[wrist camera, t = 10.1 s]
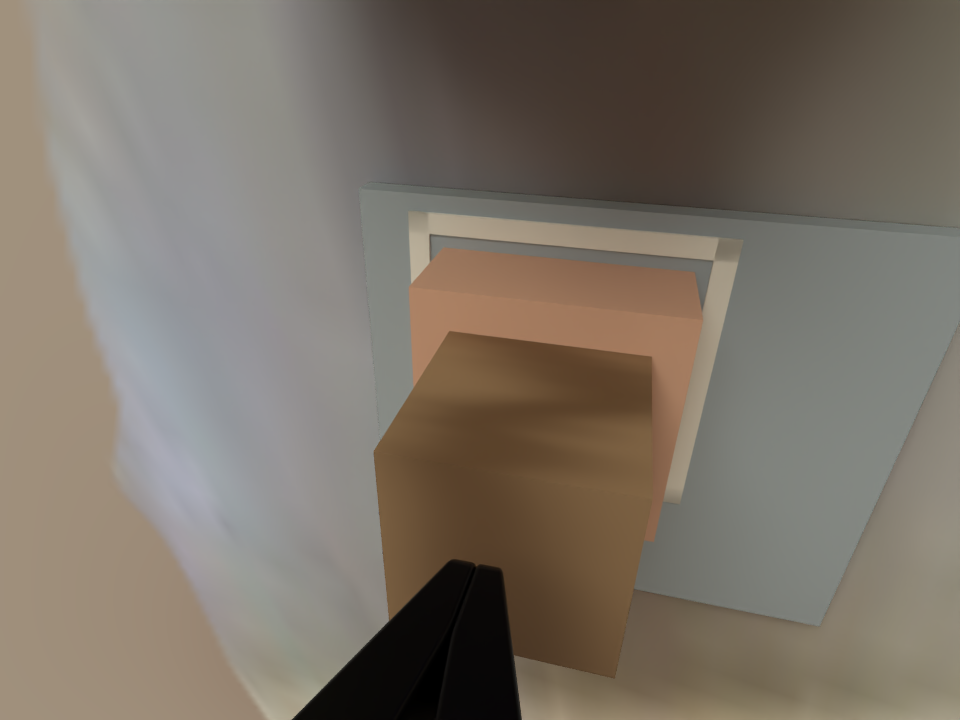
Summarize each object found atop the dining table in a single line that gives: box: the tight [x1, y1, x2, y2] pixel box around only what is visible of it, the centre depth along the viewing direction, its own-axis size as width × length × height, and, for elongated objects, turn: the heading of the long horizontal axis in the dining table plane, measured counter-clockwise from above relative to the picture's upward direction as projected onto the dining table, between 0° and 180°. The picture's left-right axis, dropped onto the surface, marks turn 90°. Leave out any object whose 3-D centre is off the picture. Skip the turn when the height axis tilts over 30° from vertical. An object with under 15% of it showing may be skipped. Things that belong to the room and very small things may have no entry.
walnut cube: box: [374, 331, 653, 678], centre depth 14 cm, size 5×5×5 cm
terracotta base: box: [409, 247, 703, 542], centre depth 17 cm, size 7×7×3 cm
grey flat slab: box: [359, 182, 960, 626], centre depth 19 cm, size 16×14×1 cm
